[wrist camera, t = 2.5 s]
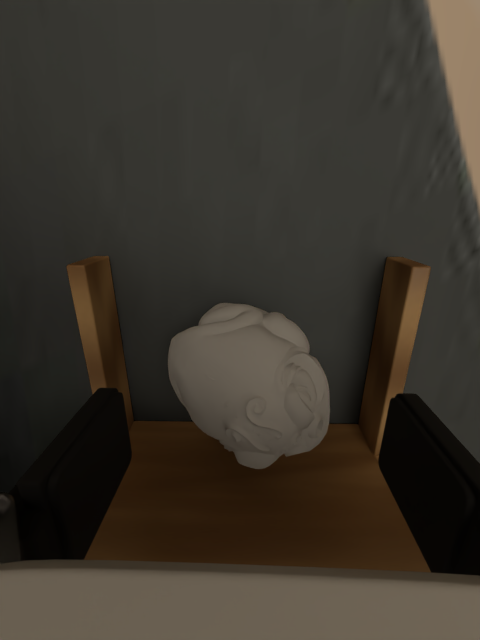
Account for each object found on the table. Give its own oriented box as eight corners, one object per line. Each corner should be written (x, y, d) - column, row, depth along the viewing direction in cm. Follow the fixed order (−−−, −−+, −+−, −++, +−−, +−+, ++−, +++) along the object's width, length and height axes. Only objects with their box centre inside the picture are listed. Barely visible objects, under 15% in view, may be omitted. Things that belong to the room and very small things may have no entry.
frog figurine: (266, 408, 18) (277, 523, 11) (162, 349, 17) (109, 441, 10) (331, 329, 16) (390, 414, 10) (220, 257, 15) (200, 297, 8)
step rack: (93, 255, 15) (-198, 351, 5) (402, 256, 15) (716, 360, 5) (140, 531, 22) (55, 792, 12) (349, 536, 22) (433, 807, 12)
